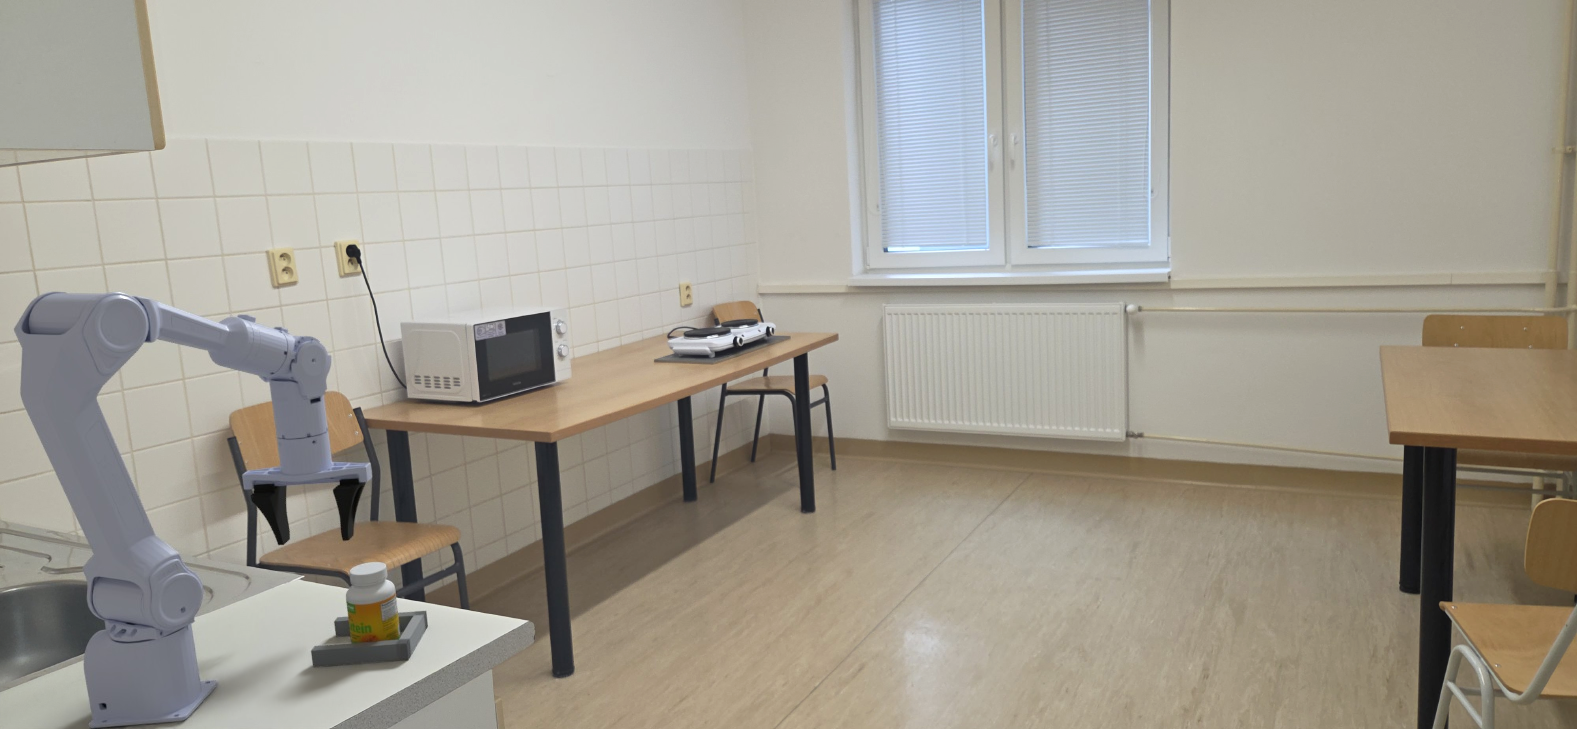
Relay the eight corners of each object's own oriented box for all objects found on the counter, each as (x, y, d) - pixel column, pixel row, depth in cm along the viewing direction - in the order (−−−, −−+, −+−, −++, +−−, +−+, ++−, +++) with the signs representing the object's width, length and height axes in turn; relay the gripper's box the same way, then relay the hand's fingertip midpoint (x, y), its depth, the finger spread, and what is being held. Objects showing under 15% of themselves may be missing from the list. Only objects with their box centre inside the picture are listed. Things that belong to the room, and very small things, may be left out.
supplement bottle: (341, 653, 119) (331, 574, 118) (375, 633, 124) (366, 557, 123) (378, 659, 118) (369, 579, 116) (411, 639, 123) (402, 562, 121)
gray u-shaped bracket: (313, 667, 116) (310, 650, 116) (339, 632, 125) (337, 617, 125) (408, 659, 117) (406, 643, 117) (427, 626, 126) (426, 610, 126)
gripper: (374, 422, 129) (385, 525, 132) (253, 429, 128) (268, 533, 131) (356, 436, 122) (369, 544, 125) (229, 443, 121) (244, 553, 124)
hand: (316, 540), depth 127 cm, fingers open, 7 cm apart
